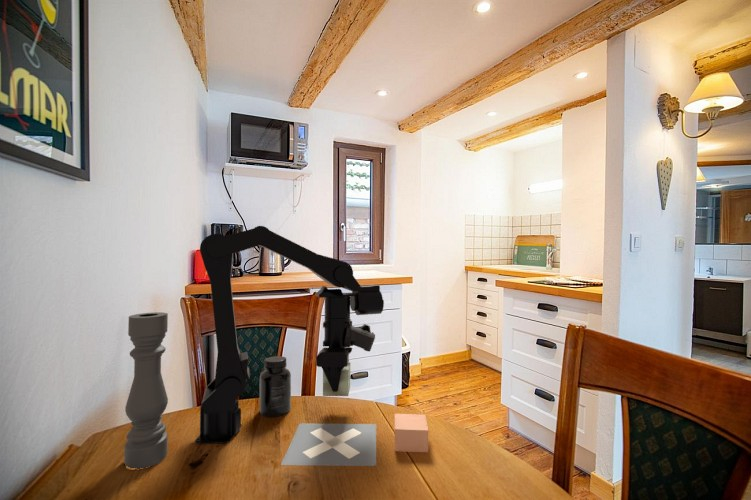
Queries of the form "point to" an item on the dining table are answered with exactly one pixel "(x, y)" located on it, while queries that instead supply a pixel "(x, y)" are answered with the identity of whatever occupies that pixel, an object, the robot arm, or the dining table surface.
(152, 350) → the candle holder
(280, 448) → the dining table surface
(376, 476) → the dining table surface
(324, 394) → the sage cube
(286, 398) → the supplement bottle
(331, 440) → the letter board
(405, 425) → the terracotta block
